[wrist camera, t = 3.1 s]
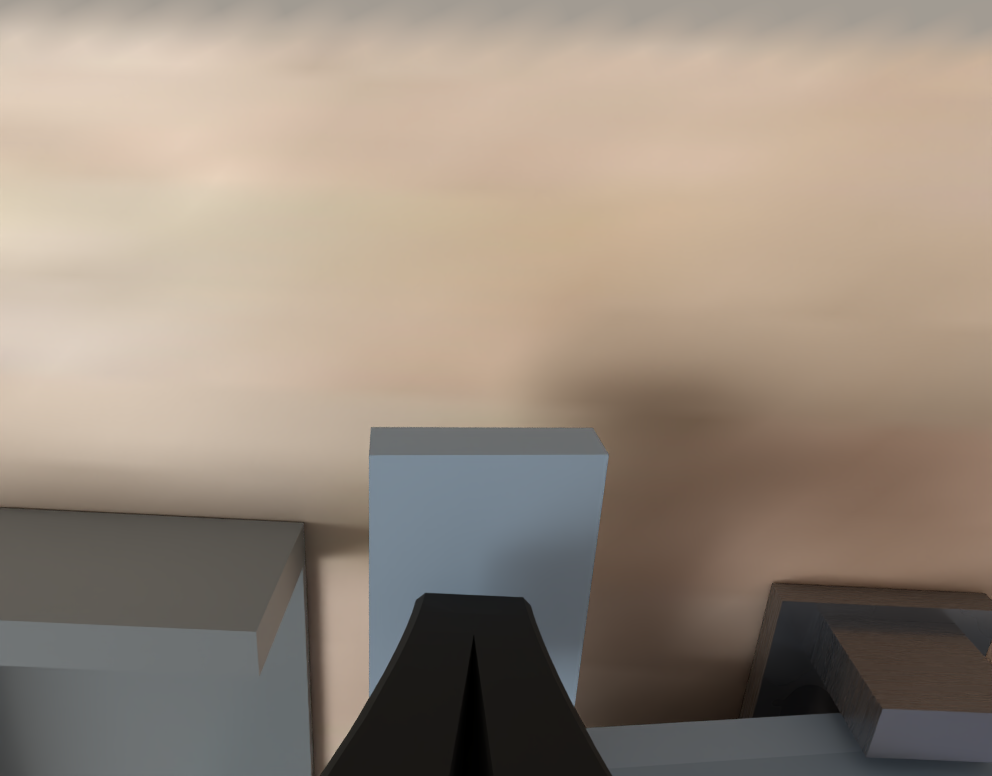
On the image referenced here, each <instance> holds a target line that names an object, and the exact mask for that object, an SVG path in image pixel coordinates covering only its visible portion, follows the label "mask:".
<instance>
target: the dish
mask: <svg viewBox="0 0 992 776" xmlns="http://www.w3.org/2000/svg"><path fill="white" fill-rule="evenodd" d="M0 776H314V765H313V740H312V714H311V689H310V664H309V639H308V613H307V588H306V563H305V538H304V523H299V522H278V521H258V520H238V519H218V518H198V517H178V516H158V515H137V514H117V513H97V512H77V511H57V510H37V509H16V508H0Z"/></svg>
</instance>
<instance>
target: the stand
mask: <svg viewBox="0 0 992 776" xmlns="http://www.w3.org/2000/svg"><path fill="white" fill-rule="evenodd" d="M991 641H992V600H991V599H990V598H989V597H988V596H987V595H986V594H983V593H962V592H941V591H920V590H899V589H878V588H858V587H837V586H816V585H795V584H774V583H772V586H771V590H770V595H769V599H768V603H767V607H766V611H765V615H764V619H763V623H762V627H761V631H760V635H759V639H758V643H757V647H756V651H755V655H754V659H753V663H752V667H751V671H750V675H749V679H748V683H747V687H746V692H745V696H744V700H743V704H742V708H741V712H740V716H739V719H745V718H762V717H779V716H796V715H812V714H829V713H841V715H842V716H843V718H844V720H845V722H846V723H847V725H848V727H849V729H850V730H851V732H852V734H853V736H854V737H855V739H856V741H857V743H858V744H859V746H860V748H861V749H862V751H863V753H864V755H865V756H866V757H867V758H892V759H917V760H942V761H967V762H992V664H991V663H990V662H989V661H988V660H987V659H986V658H985V656H986V653H987V651H988V648H989V646H990V643H991Z"/></svg>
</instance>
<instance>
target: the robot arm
mask: <svg viewBox="0 0 992 776" xmlns="http://www.w3.org/2000/svg"><path fill="white" fill-rule="evenodd" d="M320 776H612V774H611V773H610V771H609V769H608V768H607V766H606V764H605V762H604V761H603V759H602V757H601V755H600V754H599V752H598V750H597V748H596V747H595V745H594V743H593V741H592V739H591V737H590V735H589V734H588V732H587V730H586V728H585V726H584V724H583V722H582V720H581V719H580V717H579V715H578V713H577V711H576V709H575V707H574V705H573V704H572V702H571V700H570V698H569V696H568V694H567V692H566V690H565V688H564V686H563V684H562V681H561V679H560V677H559V675H558V673H557V671H556V668H555V666H554V664H553V662H552V660H551V658H550V655H549V653H548V651H547V648H546V646H545V644H544V641H543V639H542V636H541V634H540V631H539V628H538V626H537V623H536V620H535V617H534V614H533V611H532V607H531V605H530V604H529V603H528V602H527V601H526V600H525V599H524V598H523V597H509V596H487V595H465V594H443V593H424V594H423V595H422V596H420V597H419V598H418V599H416V601H415V605H414V608H413V611H412V614H411V616H410V619H409V621H408V624H407V626H406V629H405V631H404V633H403V635H402V637H401V640H400V642H399V644H398V646H397V648H396V650H395V652H394V654H393V656H392V658H391V660H390V662H389V663H388V665H387V667H386V669H385V671H384V673H383V675H382V677H381V678H380V680H379V682H378V684H377V685H376V687H375V689H374V690H373V692H372V694H371V696H370V697H369V699H368V701H367V703H366V704H365V706H364V708H363V709H362V711H361V713H360V715H359V716H358V718H357V720H356V721H355V723H354V725H353V726H352V728H351V730H350V731H349V733H348V734H347V736H346V737H345V739H344V740H343V742H342V743H341V745H340V746H339V748H338V749H337V751H336V752H335V754H334V755H333V757H332V758H331V760H330V761H329V763H328V764H327V766H326V767H325V769H324V770H323V772H322V773H321V775H320Z"/></svg>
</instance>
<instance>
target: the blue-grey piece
mask: <svg viewBox="0 0 992 776" xmlns="http://www.w3.org/2000/svg"><path fill="white" fill-rule="evenodd" d="M608 457H609V454H608V452H607V451H606V449H605V447H604V446H603V444H602V442H601V441H600V439H599V437H598V436H597V434H596V432H595V431H594V429H593V428H439V427H371V435H370V450H369V697H370V696H371V694H372V692H373V690H374V689H375V687H376V685H377V684H378V682H379V680H380V678H381V677H382V675H383V673H384V671H385V669H386V667H387V665H388V663H389V662H390V660H391V658H392V656H393V654H394V652H395V650H396V648H397V646H398V644H399V642H400V640H401V637H402V635H403V633H404V631H405V629H406V626H407V624H408V621H409V619H410V616H411V614H412V611H413V608H414V605H415V601H416V599H418V598H419V597H420V596H422V595H423V594H424V593H443V594H465V595H487V596H509V597H523V598H524V599H525V600H526V601H527V602H528V603H529V604H530V605H531V607H532V611H533V614H534V617H535V620H536V623H537V626H538V628H539V631H540V634H541V636H542V639H543V641H544V644H545V646H546V648H547V651H548V653H549V655H550V658H551V660H552V662H553V664H554V666H555V668H556V671H557V673H558V675H559V677H560V679H561V681H562V684H563V686H564V688H565V690H566V692H567V694H568V696H569V698H570V700H571V702H572V704H573V705H574V707H575V700H576V692H577V685H578V678H579V670H580V663H581V656H582V648H583V641H584V634H585V626H586V619H587V612H588V604H589V597H590V590H591V582H592V575H593V567H594V560H595V553H596V545H597V538H598V531H599V523H600V516H601V509H602V501H603V494H604V487H605V479H606V472H607V465H608ZM586 730H587V732H588V734H589V735H590V737H591V739H592V741H593V743H594V745H595V747H596V748H597V750H598V752H599V754H600V755H601V757H602V759H603V761H604V762H605V764H606V766H607V768H608V769H609V771H610V773H611V774H612V776H992V762H967V761H942V760H917V759H892V758H867V757H866V756H865V755H864V753H863V751H862V749H861V748H860V746H859V744H858V743H857V741H856V739H855V737H854V736H853V734H852V732H851V730H850V729H849V727H848V725H847V723H846V722H845V720H844V718H843V716H842V715H841V713H829V714H812V715H796V716H779V717H762V718H745V719H729V720H712V721H695V722H678V723H662V724H645V725H628V726H611V727H595V728H586Z"/></svg>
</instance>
